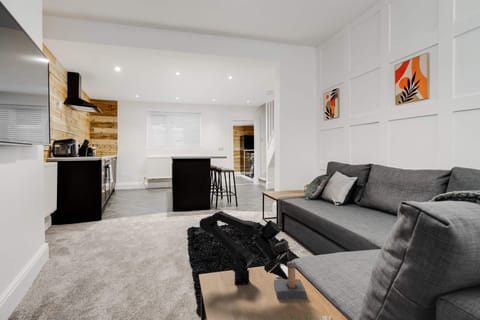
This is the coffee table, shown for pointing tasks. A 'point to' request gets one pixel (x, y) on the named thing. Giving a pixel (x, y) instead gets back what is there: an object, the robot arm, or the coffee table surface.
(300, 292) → the grey peg base
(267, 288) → the coffee table surface
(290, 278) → the plug
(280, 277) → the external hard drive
